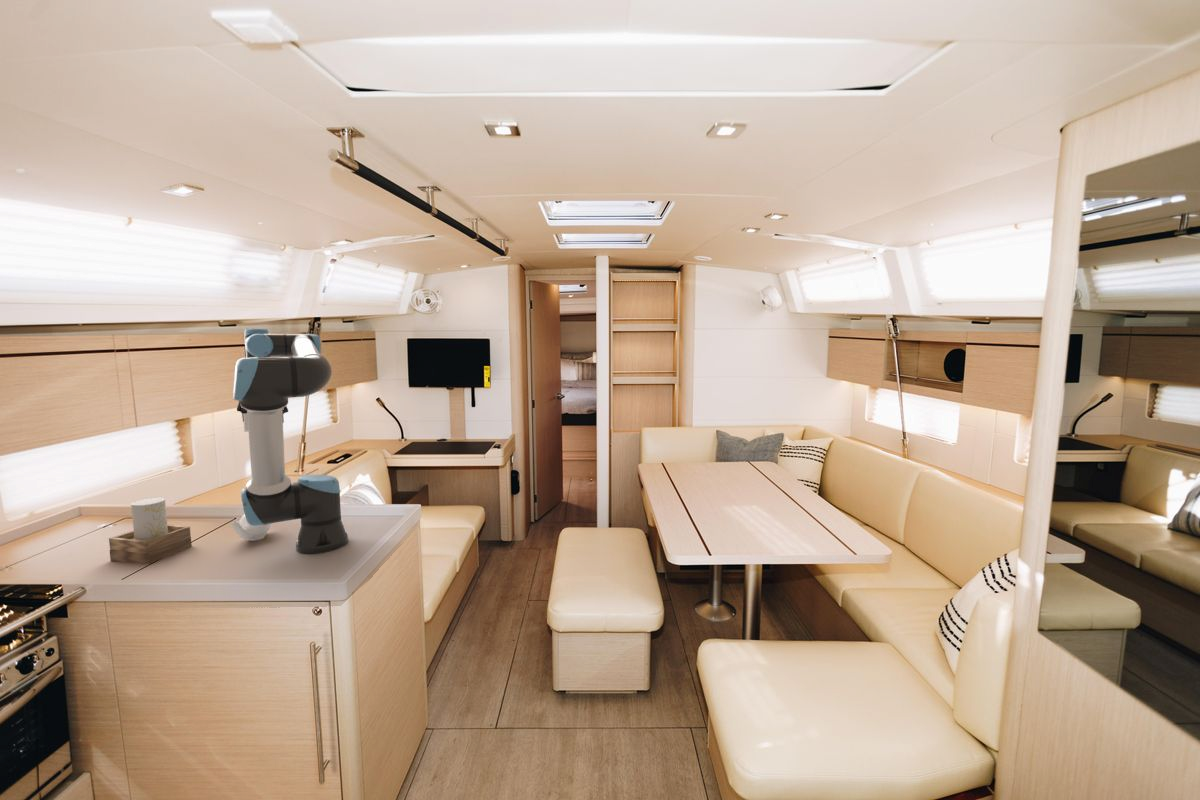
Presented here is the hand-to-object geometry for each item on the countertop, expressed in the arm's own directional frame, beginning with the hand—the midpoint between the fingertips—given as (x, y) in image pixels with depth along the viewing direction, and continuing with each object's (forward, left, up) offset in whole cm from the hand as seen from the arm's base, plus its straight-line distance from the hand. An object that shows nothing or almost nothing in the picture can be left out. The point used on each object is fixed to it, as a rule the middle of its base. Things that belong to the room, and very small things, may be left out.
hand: (263, 432), depth 192 cm
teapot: (-7, +12, -35) cm, 38 cm away
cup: (+14, +30, -30) cm, 45 cm away
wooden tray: (+14, +30, -31) cm, 46 cm away
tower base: (+14, +30, -35) cm, 48 cm away
